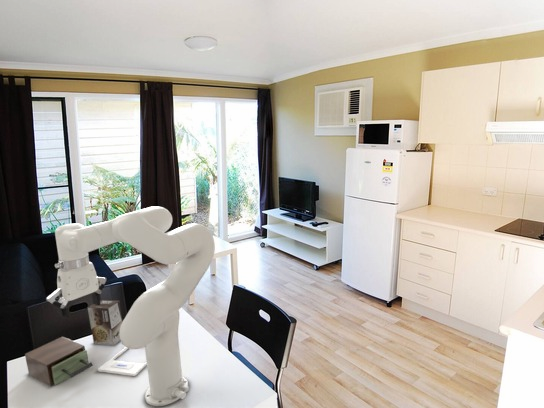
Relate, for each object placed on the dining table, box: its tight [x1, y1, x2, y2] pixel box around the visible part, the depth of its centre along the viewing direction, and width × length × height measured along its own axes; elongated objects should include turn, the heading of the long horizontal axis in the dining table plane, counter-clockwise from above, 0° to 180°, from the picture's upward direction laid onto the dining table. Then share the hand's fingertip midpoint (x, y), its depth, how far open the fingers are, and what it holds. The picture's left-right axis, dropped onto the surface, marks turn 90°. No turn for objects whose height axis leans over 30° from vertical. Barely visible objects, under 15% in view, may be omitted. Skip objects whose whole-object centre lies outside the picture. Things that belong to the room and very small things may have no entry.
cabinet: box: [24, 336, 86, 387], centre depth 123 cm, size 14×12×8 cm
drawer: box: [50, 349, 94, 386], centre depth 121 cm, size 19×10×6 cm, turn 65°
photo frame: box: [97, 346, 147, 377], centre depth 130 cm, size 15×1×18 cm
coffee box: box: [87, 299, 123, 346], centre depth 140 cm, size 9×6×16 cm
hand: (81, 310), depth 116 cm, fingers open, 9 cm apart
